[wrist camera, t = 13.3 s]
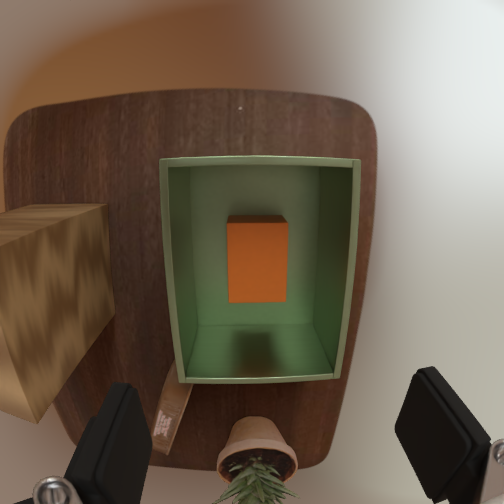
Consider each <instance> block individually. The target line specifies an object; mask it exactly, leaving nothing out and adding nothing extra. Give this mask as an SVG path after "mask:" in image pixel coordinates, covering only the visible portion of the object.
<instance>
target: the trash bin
mask: <svg viewBox="0 0 504 504" xmlns="http://www.w3.org/2000/svg"><path fill="white" fill-rule="evenodd" d="M159 178H160V204H161V223H162V239H163V253H164V265H165V276H166V287H167V297H168V306H169V314H170V323H171V331H172V338H173V346H174V353H175V360H176V367H177V373H178V379H179V383H200V384H256V383H282V382H299V381H313V380H324V379H333V378H334V379H335V378H340V373H341V368H342V362H343V356H344V350H345V343H346V337H347V330H348V323H349V315H350V307H351V299H352V291H353V282H354V272H355V261H356V250H357V237H358V222H359V204H360V178H361V160H358V159H344V158H326V157H302V156H207V157H182V158H164V159H159ZM229 215H282V216H283V217H284V218H285V219H286V221H287V222H288V261H287V290H286V302H266V303H229V300H228V267H227V220H228V216H229Z"/></svg>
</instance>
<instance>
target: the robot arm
mask: <svg viewBox="0 0 504 504" xmlns="http://www.w3.org/2000/svg"><path fill="white" fill-rule="evenodd" d="M395 433H396V435H397V437H398V439H399V441H400V443H401V445H402V447H403V449H404V451H405V453H406V455H407V457H408V459H409V461H410V463H411V465H412V467H413V469H414V471H415V473H416V475H417V477H418V479H419V481H420V483H421V485H422V487H423V490H424V492H425V494H426V496H427V497H428V498H429V499H432V501H433V503H434V504H436V503H439V502H441V501H444V500H446V499H448V501H449V504H504V439H499V440H497V441H495V442H494V443H493V444H491V443H490V440H491V438H490V437H489V435H488V434H487V433H486V431H485V430H484V429H483V427H482V426H481V425H480V423H479V422H478V421H477V419H476V418H475V417H474V415H473V414H472V413H471V412H470V410H469V409H468V408H467V406H466V405H465V404H464V403H463V401H462V400H461V399H460V398H459V396H458V395H457V394H456V392H455V391H454V390H453V389H452V388H451V386H450V385H449V384H448V383H447V381H446V380H445V379H444V378H443V376H442V375H441V374H440V373H439V372H438V370H437V369H436V368H435V367H433V366H431V367H426V368H421V369H418V370H417V372H416V374H414V375H413V377H412V380H411V383H410V386H409V389H408V391H407V394H406V397H405V400H404V403H403V405H402V408H401V411H400V413H399V416H398V418H397V421H396V424H395ZM152 446H153V442H152V438H151V435H150V431H149V428H148V425H147V422H146V419H145V415H144V412H143V409H142V405H141V402H140V398H139V394H138V391H137V389H136V388H132V385H131V384H129V383H119V382H114V383H112V385H111V387H110V389H109V391H108V393H107V395H106V398H105V400H104V402H103V404H102V406H101V408H100V410H99V413H98V415H97V417H94V416H93V417H92V418H90V420H89V422H88V424H87V426H86V428H85V430H84V432H83V434H82V437H81V439H80V441H79V443H78V445H77V448H76V450H75V452H74V454H73V457H72V459H71V461H70V463H69V466H68V468H67V470H66V473H65V475H64V477H63V478H62V477H60V476H49V477H45V478H43V479H41V480H40V481H39V482H38V483H37V484H36V485H35V487H34V489H33V494H32V495H33V497H32V498H29V499H26V500H23V501H20V502H17V503H14V504H140V500H141V495H142V491H143V486H144V481H145V478H146V473H147V469H148V465H149V460H150V456H151V452H152Z"/></svg>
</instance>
